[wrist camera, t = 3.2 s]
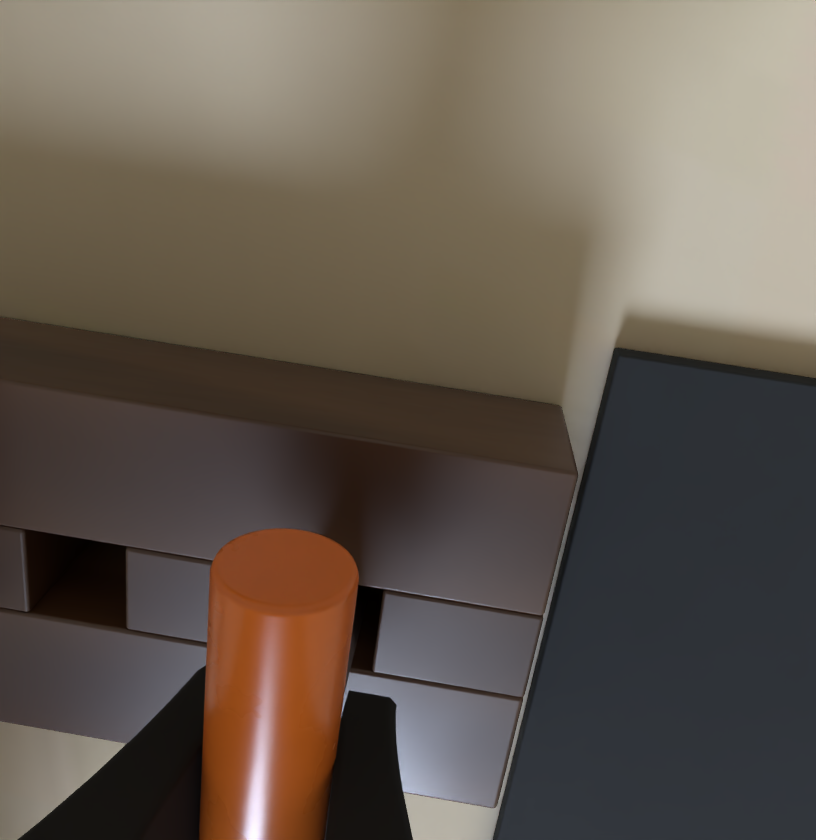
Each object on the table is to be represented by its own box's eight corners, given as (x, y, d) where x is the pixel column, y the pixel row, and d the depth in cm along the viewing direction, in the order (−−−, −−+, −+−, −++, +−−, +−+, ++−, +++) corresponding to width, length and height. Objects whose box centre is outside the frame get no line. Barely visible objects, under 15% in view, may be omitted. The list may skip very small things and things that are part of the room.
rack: (495, 701, 18) (497, 810, 15) (-199, 581, 18) (-320, 666, 16) (562, 404, 15) (579, 472, 12) (-261, 274, 16) (-421, 311, 13)
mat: (837, 1084, 22) (845, 1105, 21) (449, 1011, 22) (448, 1031, 22) (1217, 440, 14) (1242, 451, 14) (614, 346, 15) (618, 354, 14)
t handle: (369, 690, 18) (287, 1093, 11) (301, 678, 18) (174, 1072, 11) (416, 366, 15) (346, 621, 8) (334, 353, 15) (187, 593, 8)
